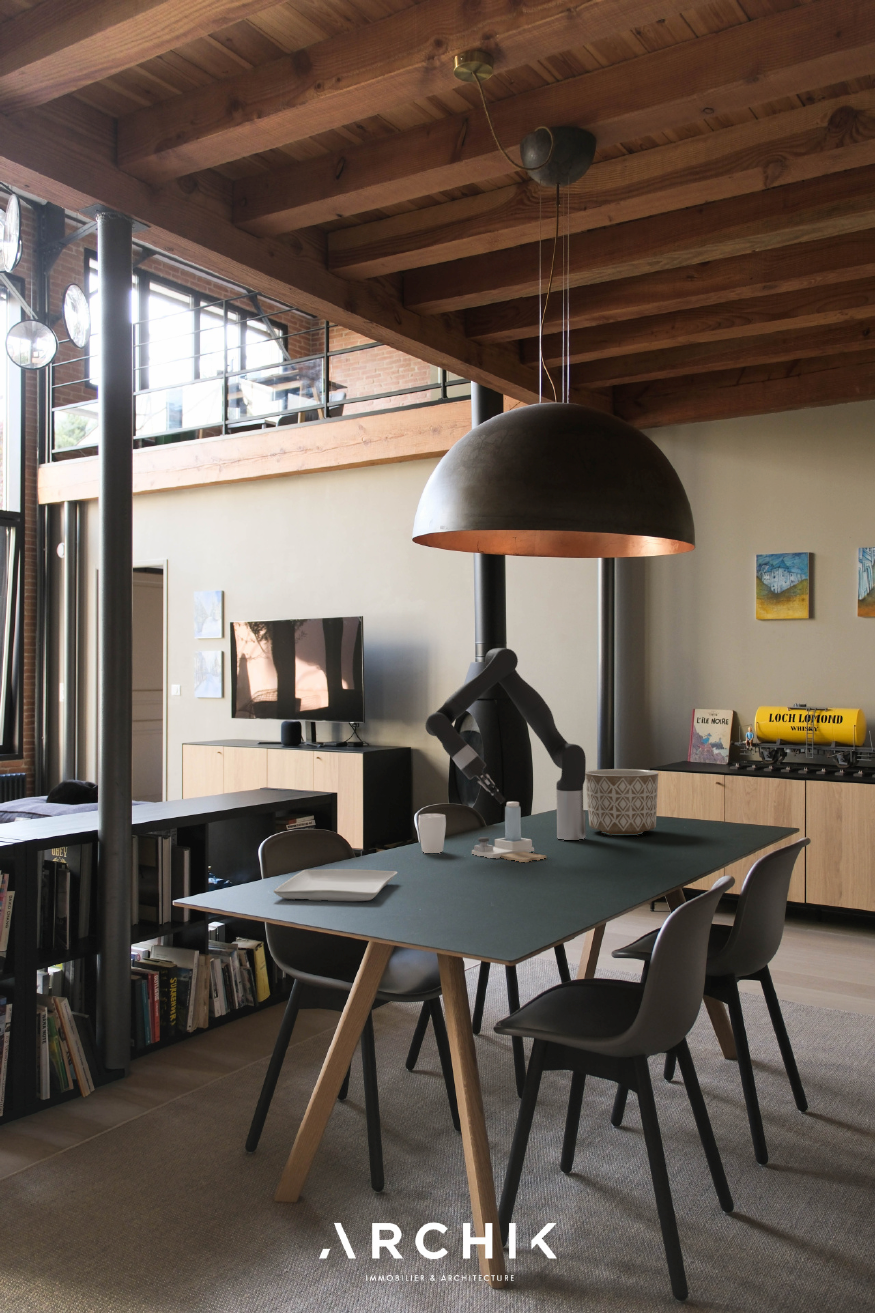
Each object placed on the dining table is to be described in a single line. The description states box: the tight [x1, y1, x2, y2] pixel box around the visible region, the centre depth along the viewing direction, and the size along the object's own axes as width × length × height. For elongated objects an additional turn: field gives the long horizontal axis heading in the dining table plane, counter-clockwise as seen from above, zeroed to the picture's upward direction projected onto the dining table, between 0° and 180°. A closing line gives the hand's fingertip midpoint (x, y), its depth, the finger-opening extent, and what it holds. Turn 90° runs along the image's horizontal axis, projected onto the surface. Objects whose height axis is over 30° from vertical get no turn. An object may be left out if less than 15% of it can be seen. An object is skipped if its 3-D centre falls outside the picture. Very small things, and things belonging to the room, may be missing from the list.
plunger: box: [477, 836, 490, 847], centre depth 315 cm, size 3×3×4 cm
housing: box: [471, 837, 535, 859], centre depth 317 cm, size 18×10×4 cm, turn 129°
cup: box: [417, 813, 447, 854], centre depth 321 cm, size 9×9×12 cm
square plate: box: [273, 868, 398, 902], centre depth 262 cm, size 27×27×4 cm
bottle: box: [504, 801, 522, 842], centre depth 320 cm, size 5×5×14 cm
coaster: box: [500, 852, 547, 863], centre depth 308 cm, size 10×10×1 cm
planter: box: [585, 768, 659, 834], centre depth 357 cm, size 26×26×22 cm
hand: (503, 802), depth 324 cm, fingers closed
